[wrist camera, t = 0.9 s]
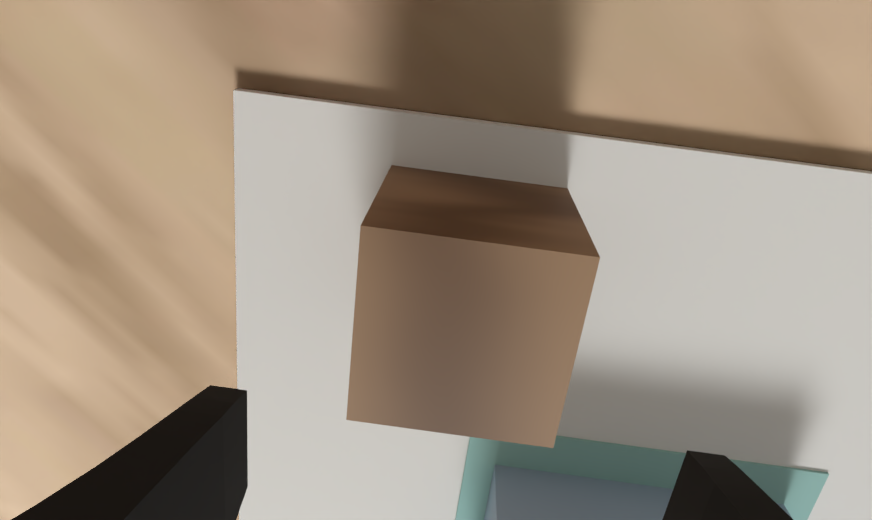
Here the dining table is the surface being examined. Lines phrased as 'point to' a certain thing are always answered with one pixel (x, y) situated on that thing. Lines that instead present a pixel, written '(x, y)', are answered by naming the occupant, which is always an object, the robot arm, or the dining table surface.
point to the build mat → (603, 327)
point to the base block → (571, 497)
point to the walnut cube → (468, 306)
